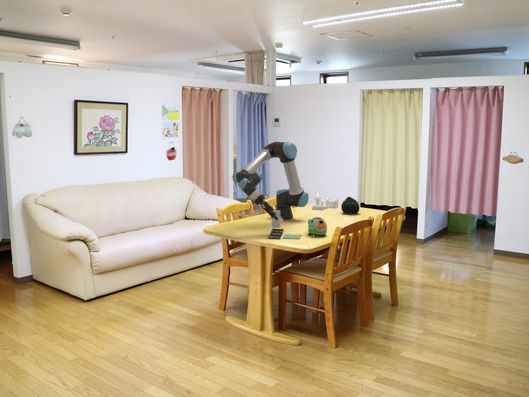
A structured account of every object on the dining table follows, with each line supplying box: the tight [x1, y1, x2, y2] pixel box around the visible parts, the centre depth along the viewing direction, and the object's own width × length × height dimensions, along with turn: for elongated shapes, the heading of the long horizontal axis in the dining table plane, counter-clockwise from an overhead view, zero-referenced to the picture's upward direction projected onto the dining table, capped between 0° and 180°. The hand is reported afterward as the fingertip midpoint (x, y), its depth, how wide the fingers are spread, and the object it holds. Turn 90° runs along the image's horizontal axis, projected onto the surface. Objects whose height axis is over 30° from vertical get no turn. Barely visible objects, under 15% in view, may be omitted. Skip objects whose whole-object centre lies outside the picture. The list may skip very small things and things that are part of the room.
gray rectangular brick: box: [271, 209, 281, 229], centre depth 329 cm, size 5×5×11 cm
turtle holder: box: [307, 216, 328, 238], centre depth 331 cm, size 12×18×12 cm
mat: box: [282, 233, 302, 240], centre depth 324 cm, size 11×11×1 cm
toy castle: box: [311, 191, 340, 211], centre depth 432 cm, size 14×25×16 cm, turn 143°
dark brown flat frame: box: [267, 228, 285, 240], centre depth 331 cm, size 26×8×1 cm, turn 173°
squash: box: [340, 196, 360, 215], centre depth 409 cm, size 14×15×15 cm
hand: (281, 222), depth 329 cm, fingers closed on gray rectangular brick, 5 cm apart
